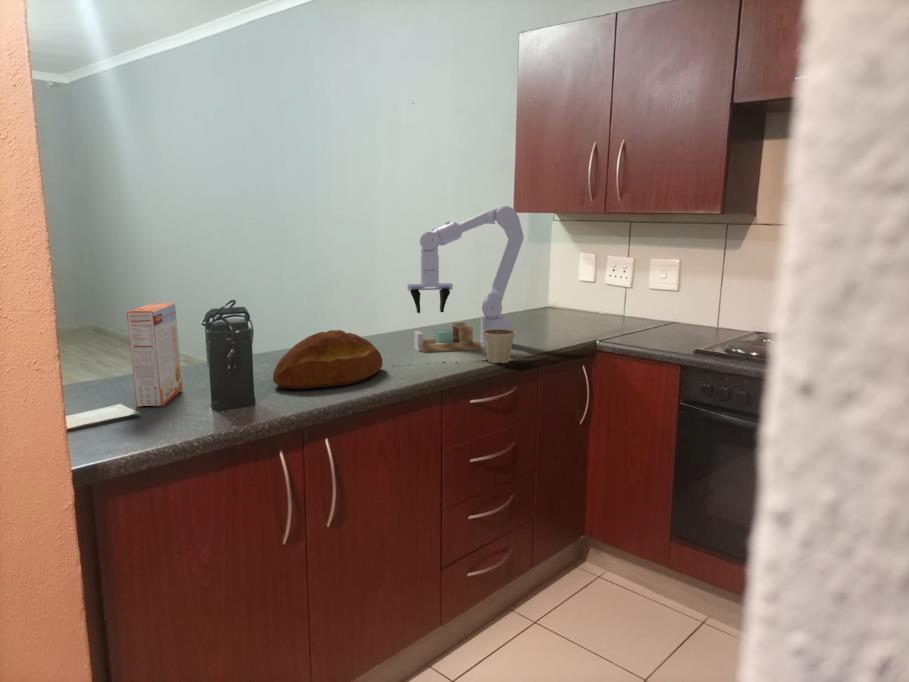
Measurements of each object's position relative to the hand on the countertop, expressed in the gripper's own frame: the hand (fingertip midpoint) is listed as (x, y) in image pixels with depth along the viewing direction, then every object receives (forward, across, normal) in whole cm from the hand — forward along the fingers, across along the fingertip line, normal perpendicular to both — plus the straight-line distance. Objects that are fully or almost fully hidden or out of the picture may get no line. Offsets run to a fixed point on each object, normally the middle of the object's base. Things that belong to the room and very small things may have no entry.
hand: (430, 312), depth 212 cm
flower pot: (+11, -13, +32) cm, 36 cm away
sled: (+10, +1, +12) cm, 15 cm away
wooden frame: (+10, -3, +12) cm, 16 cm away
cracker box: (+11, +73, +52) cm, 90 cm away
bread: (+11, +34, +42) cm, 55 cm away
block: (+9, -2, +12) cm, 15 cm away
